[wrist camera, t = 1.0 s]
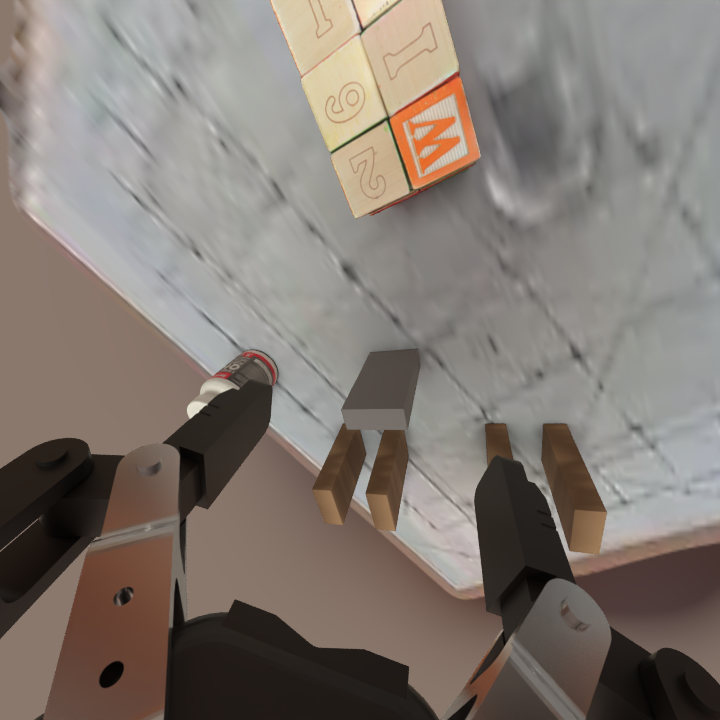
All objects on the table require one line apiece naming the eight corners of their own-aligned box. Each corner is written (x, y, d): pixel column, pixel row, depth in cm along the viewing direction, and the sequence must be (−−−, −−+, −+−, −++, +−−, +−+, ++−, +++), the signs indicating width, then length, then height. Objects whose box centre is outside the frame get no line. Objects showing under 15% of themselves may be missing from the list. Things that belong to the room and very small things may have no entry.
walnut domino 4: (566, 423, 31) (607, 512, 23) (562, 460, 33) (598, 554, 25) (543, 423, 32) (574, 509, 23) (541, 460, 34) (569, 551, 26)
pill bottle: (254, 340, 36) (195, 385, 28) (287, 372, 37) (239, 426, 29) (231, 364, 39) (171, 412, 31) (263, 393, 40) (213, 447, 32)
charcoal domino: (370, 352, 33) (341, 409, 25) (417, 348, 32) (403, 408, 23) (373, 368, 34) (346, 429, 26) (420, 366, 32) (407, 429, 24)
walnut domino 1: (358, 423, 38) (330, 490, 30) (366, 454, 40) (342, 525, 32) (343, 423, 39) (312, 489, 31) (351, 453, 41) (325, 523, 33)
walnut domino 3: (505, 423, 33) (522, 505, 25) (506, 458, 35) (522, 545, 27) (485, 423, 34) (495, 503, 25) (487, 458, 36) (496, 542, 27)
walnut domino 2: (402, 423, 37) (386, 495, 28) (408, 455, 39) (395, 531, 30) (385, 423, 37) (365, 493, 29) (392, 455, 39) (375, 528, 31)
